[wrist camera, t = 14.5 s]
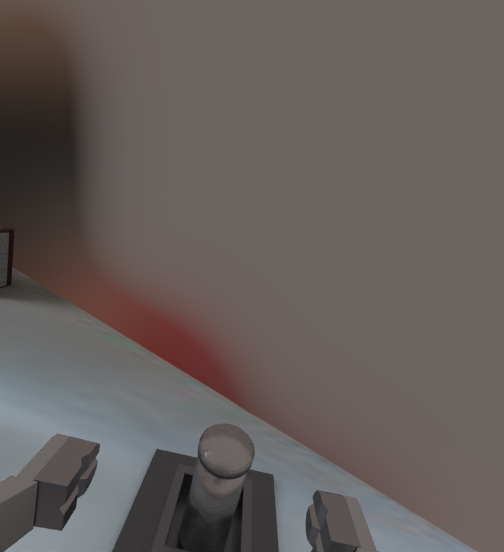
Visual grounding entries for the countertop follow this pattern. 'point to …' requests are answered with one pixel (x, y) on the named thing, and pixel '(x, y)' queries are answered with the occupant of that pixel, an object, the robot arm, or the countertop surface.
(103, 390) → the countertop surface
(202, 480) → the grey cylinder
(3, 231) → the protein box
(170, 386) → the countertop surface
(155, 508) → the duct collar
